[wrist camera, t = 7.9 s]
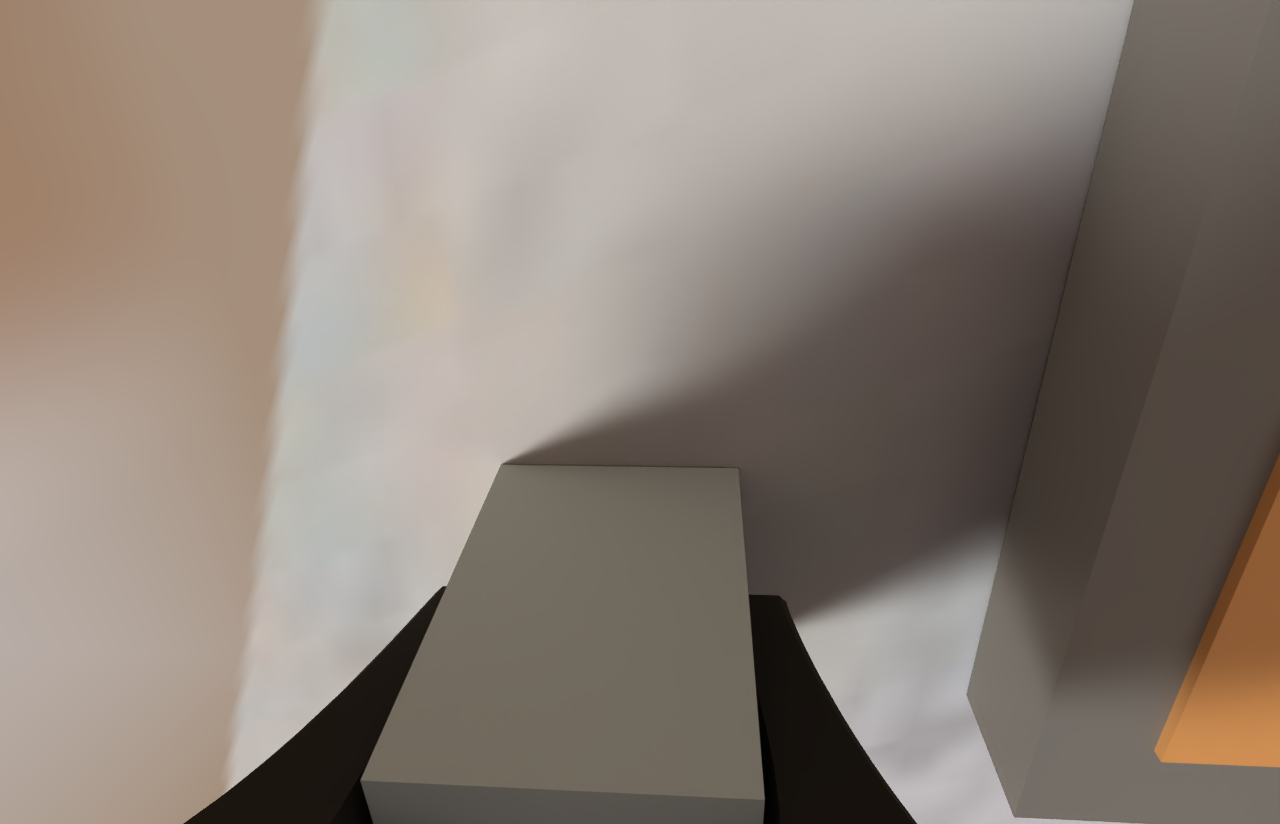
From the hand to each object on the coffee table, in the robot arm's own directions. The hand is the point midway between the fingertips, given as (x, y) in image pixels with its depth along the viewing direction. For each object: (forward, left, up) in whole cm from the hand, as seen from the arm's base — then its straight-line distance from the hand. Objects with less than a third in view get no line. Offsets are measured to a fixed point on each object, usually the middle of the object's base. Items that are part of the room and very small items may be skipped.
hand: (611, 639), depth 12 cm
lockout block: (0, 0, -2) cm, 2 cm away
